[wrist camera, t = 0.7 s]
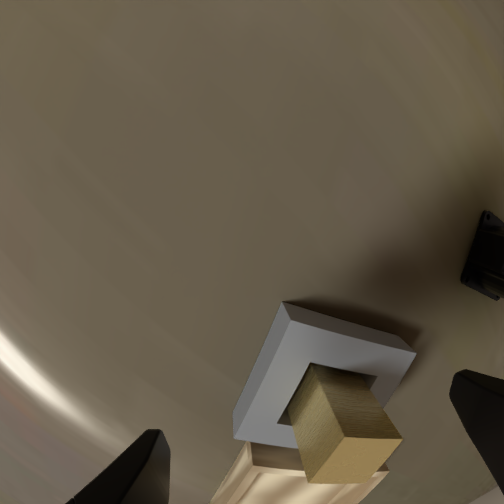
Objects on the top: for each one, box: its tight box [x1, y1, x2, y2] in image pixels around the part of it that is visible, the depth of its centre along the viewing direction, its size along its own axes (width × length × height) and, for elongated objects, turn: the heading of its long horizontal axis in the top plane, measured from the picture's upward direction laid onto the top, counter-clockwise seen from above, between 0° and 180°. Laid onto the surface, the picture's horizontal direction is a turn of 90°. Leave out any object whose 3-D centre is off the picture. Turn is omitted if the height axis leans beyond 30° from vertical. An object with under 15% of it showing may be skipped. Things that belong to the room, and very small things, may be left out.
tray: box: [209, 441, 389, 504], centre depth 23 cm, size 14×14×4 cm
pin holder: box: [233, 302, 417, 449], centre depth 20 cm, size 10×10×3 cm
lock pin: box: [287, 362, 403, 484], centre depth 17 cm, size 4×4×9 cm
